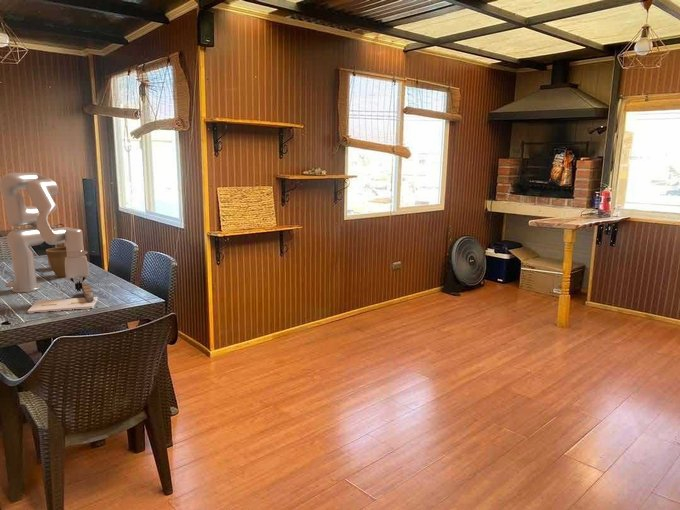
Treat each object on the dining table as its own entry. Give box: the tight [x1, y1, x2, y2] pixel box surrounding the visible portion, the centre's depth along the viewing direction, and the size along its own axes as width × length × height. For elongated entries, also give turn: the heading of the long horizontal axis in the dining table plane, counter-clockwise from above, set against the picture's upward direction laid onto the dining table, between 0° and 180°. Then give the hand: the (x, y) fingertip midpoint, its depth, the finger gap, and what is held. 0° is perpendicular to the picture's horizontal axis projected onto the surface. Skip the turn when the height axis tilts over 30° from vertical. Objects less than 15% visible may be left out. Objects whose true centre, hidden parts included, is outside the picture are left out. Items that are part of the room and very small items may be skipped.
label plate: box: [27, 296, 99, 314], centre depth 229 cm, size 26×16×2 cm, turn 108°
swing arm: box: [81, 283, 95, 301], centre depth 240 cm, size 24×3×3 cm, turn 33°
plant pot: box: [45, 246, 67, 278], centre depth 282 cm, size 15×15×16 cm
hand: (79, 290), depth 243 cm, fingers closed
